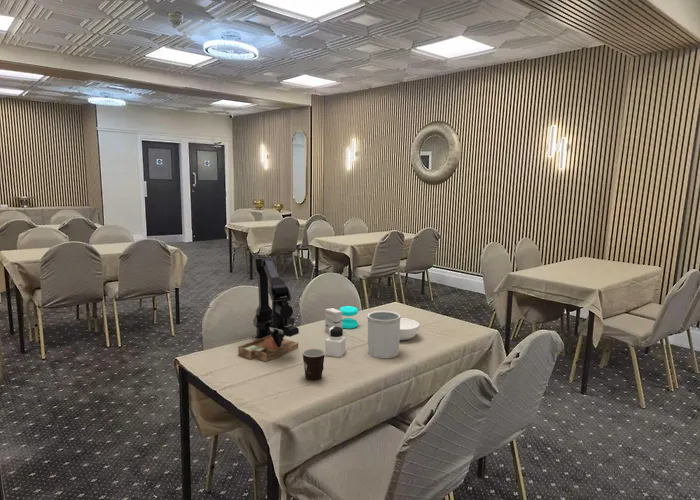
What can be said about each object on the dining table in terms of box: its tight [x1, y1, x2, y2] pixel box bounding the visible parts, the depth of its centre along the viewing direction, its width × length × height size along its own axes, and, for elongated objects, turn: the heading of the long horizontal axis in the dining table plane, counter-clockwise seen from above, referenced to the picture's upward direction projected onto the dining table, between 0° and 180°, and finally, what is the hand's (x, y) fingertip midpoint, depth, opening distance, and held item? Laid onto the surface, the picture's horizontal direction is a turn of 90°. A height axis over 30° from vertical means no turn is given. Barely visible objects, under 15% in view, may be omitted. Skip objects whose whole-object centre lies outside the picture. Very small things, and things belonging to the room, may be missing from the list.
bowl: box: [399, 317, 420, 341], centre depth 227 cm, size 18×18×7 cm
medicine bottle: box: [324, 326, 347, 358], centre depth 204 cm, size 7×7×12 cm
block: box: [264, 336, 277, 349], centre depth 205 cm, size 5×5×4 cm
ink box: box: [324, 307, 343, 334], centre depth 232 cm, size 9×5×12 cm, turn 39°
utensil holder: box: [366, 310, 402, 359], centre depth 206 cm, size 15×15×18 cm
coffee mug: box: [302, 348, 326, 382], centre depth 178 cm, size 12×9×10 cm
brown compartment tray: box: [237, 335, 299, 363], centre depth 206 cm, size 15×23×4 cm, turn 145°
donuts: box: [338, 305, 359, 330], centre depth 243 cm, size 10×10×10 cm
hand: (278, 346), depth 203 cm, fingers closed
